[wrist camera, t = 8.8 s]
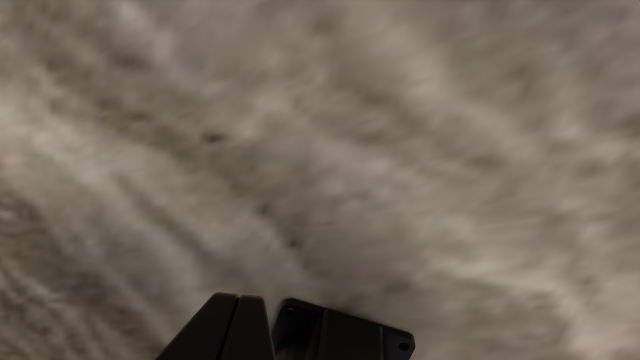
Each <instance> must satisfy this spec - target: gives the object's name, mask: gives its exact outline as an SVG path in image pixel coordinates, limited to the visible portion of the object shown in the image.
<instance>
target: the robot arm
mask: <svg viewBox="0 0 640 360" xmlns="http://www.w3.org/2000/svg"><path fill="white" fill-rule="evenodd" d="M289 308H291V309H294V310H295V311H289V310H288V309H289ZM403 342H405V343H407V344H401V343H403ZM414 350H415V340H414V337H413V336H412V335H411V334H409V333H407V332H404V331H400V330H397V329H394V328H390V327H387V326H384V325H380V324H377V323H374V322H370V321H367V320H363V319H360V318H357V317H353V316H350V315H347V314H343V313H340V312H337V311H333V310H330V309H327V308H323V307H320V306H317V305H313V304H310V303H307V302H303V301H300V300H297V299H291V298H290V299H286V300H284V301H283V302H282V304H281V307H280V309H279V312H278V315H277V318H276V321H275V324H274V326H273V329H272V332H270V327H269V321H268V316H267V311H266V306H265V301H264V299H263V298H262V297H260V296H251V295H242V296H240V298H239V296H238V295H237V294H231V293H221V292H218V293H215V294H213V295H212V296H211V297H210V299H209V300H208V301H207V302H206V303H205V304H204V305H203V306H202V307H201V309H200V310H199V311H198V312H197V313H196V314H195V315H194V316H193V317H192V318H191V320H190V321H189V322H188V323H187V324H186V325H185V326H184V327H183V328H182V330H181V331H180V332H179V333H178V334H177V335H176V336H175V337H174V338H173V340H172V341H171V342H170V343H169V344H168V345H167V346H166V347H165V348H164V349H163V351H162V352H161V353H160V354H159V355H158V356H157V357H156V358H155V359H154V360H409V359H410V357H411V355H412V353H413V352H414Z"/></svg>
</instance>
